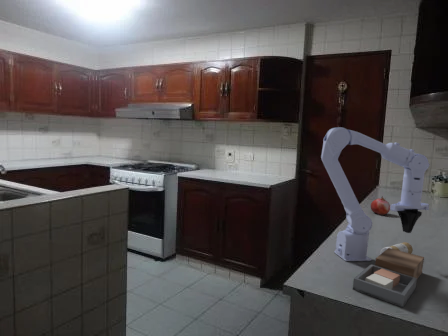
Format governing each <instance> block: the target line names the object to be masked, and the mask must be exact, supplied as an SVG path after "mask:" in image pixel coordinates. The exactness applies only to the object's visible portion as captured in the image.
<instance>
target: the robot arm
mask: <svg viewBox="0 0 448 336" xmlns="http://www.w3.org/2000/svg"><path fill="white" fill-rule="evenodd" d="M322 141H323V143H322V149H321V155H320V158H321V159H320V160H321V161H322V164H323V167H324V168H325V170H326V172H327V174H328V176H329V178H330V181H331V182H332V184H333V186H334V188H335V191H336V193H337V196H338V197H339V199H340V201H341V204H342V205H343V208H344V211H345V214H346V215H345V217H346V221H347V226H346V227H345V229H343V230H340V231H338V232H337V235H336V241H335V250H334V251H333V252H334V253H335V254H336V255H338V256H339V257H340V258H341V259H342V260H343V261H346V262H372V261H373V259H372V258H371V257H369V256H368V255H367V253H368V247H369V246H368V245H369V237H370V231H371V230H372V228H373V221H372V219H371V218H370V217H369V216H368V215H367V214H366V213H365V211H364V209H363V208H362V206H361V205H360V203H359V201H358V198H357V197H356V194H355V193H354V190H353V188H352V186H351V184H350V182H349V180H348V178H347V176H346V174H345V172H344V170H343V168H342V166H341V163H340V161H339V157H340V155H341V153H342V150H343V149H344V148H346V146H348V145H350V146H353V145H359V146H362V147H364V148H367V149H370V150H372V151H374V152H376V153H379V154H380V155H381V158H382V159H383V160H386V161H387V162H390V163H392V164H394V165H397V166H399V167H403V171H404V172H403V177H402V178H403V179H402V186H401V192H400V193H401V194H400V201H397V203H391V204H390V211H392V212H397V214H398V217H399V219H400V221H401V222H400V223H401V228H402V232H404V233H407V234H412V231H413V229H414V226H415V224H416V223H417V221H418V220H419V219H420V218H421V217H422V216H423V215H422V214H423V212H422V211H424V210H425V211H429V208H430V204H429V203H425V202H422V196H423V189H424V181H425V172H427V170H428V169H429V167H430V165H431V164H430V162H429V160H428V157H427V156H425V155H424V154H421V153H417V152H415V149H412V148H406V147H404V146H401V143H399V142H396V141H395V142H388V143H383V142H381V141H379V140H377V139H375V138H372V137H370V136H368V135H365V134H363V133H361V132H358V131H357V130H356V131H355V130H351V129H347V128H345V127H341V126H340V127H339V126H338V127H332V128H330V129H329V130H327V132H326V134H325V136H324V137H323V140H322ZM421 210H422V211H421Z"/></svg>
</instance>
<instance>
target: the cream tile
mask: <svg viewBox="0 0 448 336" xmlns="http://www.w3.org/2000/svg"><path fill="white" fill-rule="evenodd" d="M365 281H367V282H370V283H373V284H376V285H379V286H381V287H384V288H387V289H390V290H392V287H393V280H391V279H388V278H386V277H383V276H380V275H378V274H375V273H374V274H372V275H370V276H368V277H366V280H365Z"/></svg>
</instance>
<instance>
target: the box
mask: <svg viewBox="0 0 448 336" xmlns="http://www.w3.org/2000/svg"><path fill="white" fill-rule="evenodd" d="M380 269H385V268H382V267H378V266H375V264H369V265H368V266H367V267H366V268H364V270H362V271H361V272H360V273H359V274H357V275H356V276H355V277H353V283H352V284H353V285H352V290H353V291H355V292H359V293H362V294H364V295H368V296H369V297H373V298H376V299H379V300H381V301H383V302H387V303H389V304H392V305H394V306H396V307H400V308H403V307H404V306H405V305H406V303H407V302H408V301H409V299H410V297H411V296H412V295H413V293H414V292H415V290H416V287H417V281H418V279H417V278H415V277H411V276H408V275H405V274H401V273H398V272H395V271H392V270H388V269H385V270H387V271H390V272H393V273H396V274H399V275H400V280H399V284H398V285H396V286H394V287H393V288H392V290H390V289H387V288H384V287H381V286H379V285H376V284H373V283H370V282H367V281H365V280H366V277H368V276H370V275H372V274H374V272H376V271H378V270H380Z"/></svg>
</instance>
